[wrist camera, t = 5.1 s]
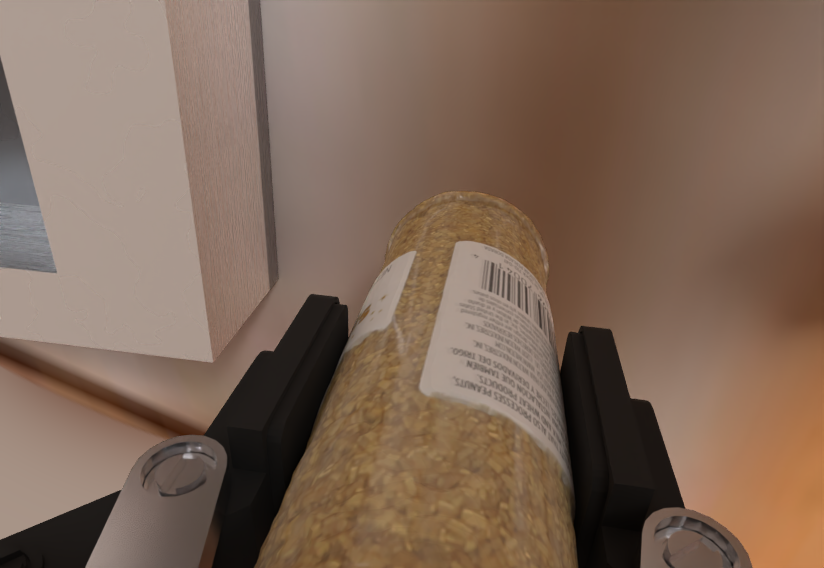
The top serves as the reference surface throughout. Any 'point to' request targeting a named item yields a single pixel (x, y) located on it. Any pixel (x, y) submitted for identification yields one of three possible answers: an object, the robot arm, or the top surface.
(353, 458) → the sprinkles bottle
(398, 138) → the top surface
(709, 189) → the top surface
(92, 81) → the grey box with opening
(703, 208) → the top surface
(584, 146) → the top surface
